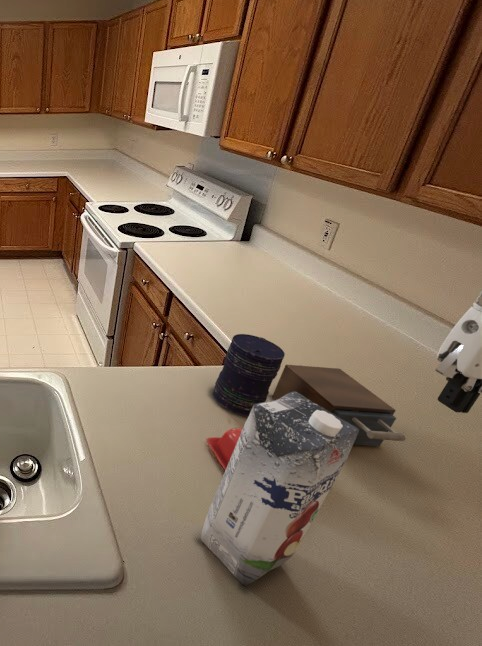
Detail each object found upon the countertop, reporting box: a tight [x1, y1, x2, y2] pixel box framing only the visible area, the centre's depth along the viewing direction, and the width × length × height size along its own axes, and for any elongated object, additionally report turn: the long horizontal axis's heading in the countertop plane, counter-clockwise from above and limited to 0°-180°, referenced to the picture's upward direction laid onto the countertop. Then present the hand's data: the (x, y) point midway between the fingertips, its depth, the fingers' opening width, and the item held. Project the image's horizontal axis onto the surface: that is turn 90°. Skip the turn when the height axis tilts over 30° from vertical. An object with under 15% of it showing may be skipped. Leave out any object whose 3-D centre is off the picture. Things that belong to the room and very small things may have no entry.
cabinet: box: [271, 364, 397, 416], centre depth 88 cm, size 14×13×9 cm
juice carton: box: [200, 391, 359, 586], centre depth 56 cm, size 9×10×27 cm
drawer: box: [333, 409, 406, 447], centre depth 85 cm, size 17×11×7 cm, turn 179°
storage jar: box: [212, 333, 286, 418], centre depth 90 cm, size 10×10×18 cm
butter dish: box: [205, 427, 243, 471], centre depth 74 cm, size 12×12×8 cm
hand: (451, 406), depth 66 cm, fingers closed
